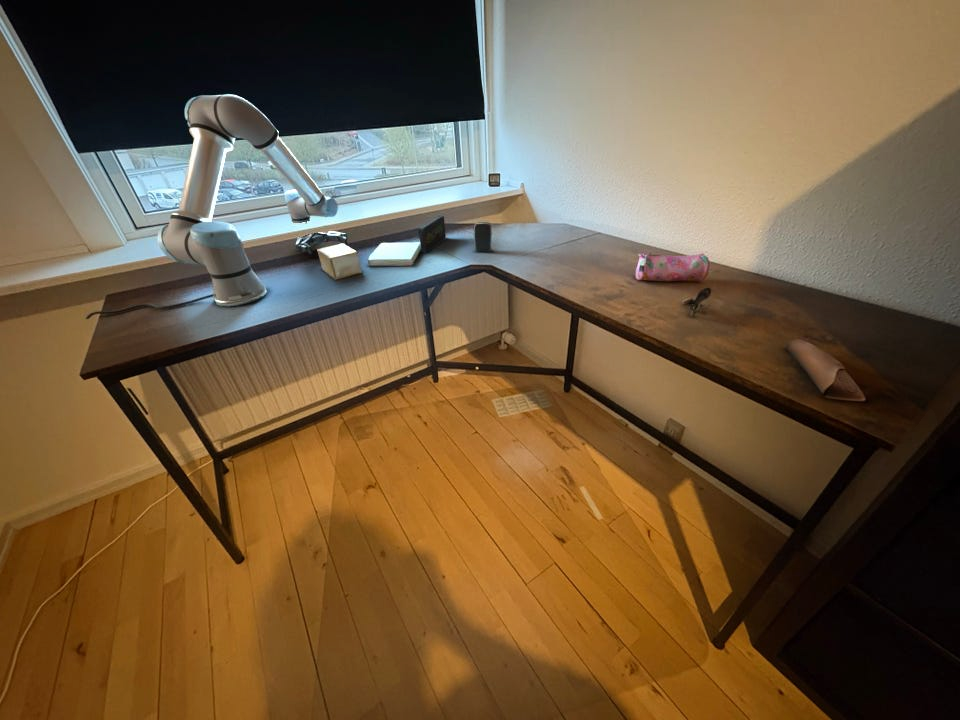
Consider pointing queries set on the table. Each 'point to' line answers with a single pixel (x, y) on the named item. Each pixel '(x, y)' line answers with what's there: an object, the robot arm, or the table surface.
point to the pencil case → (672, 267)
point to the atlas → (394, 254)
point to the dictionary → (339, 261)
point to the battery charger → (483, 236)
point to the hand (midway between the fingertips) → (329, 246)
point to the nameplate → (432, 233)
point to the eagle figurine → (698, 301)
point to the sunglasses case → (825, 372)
